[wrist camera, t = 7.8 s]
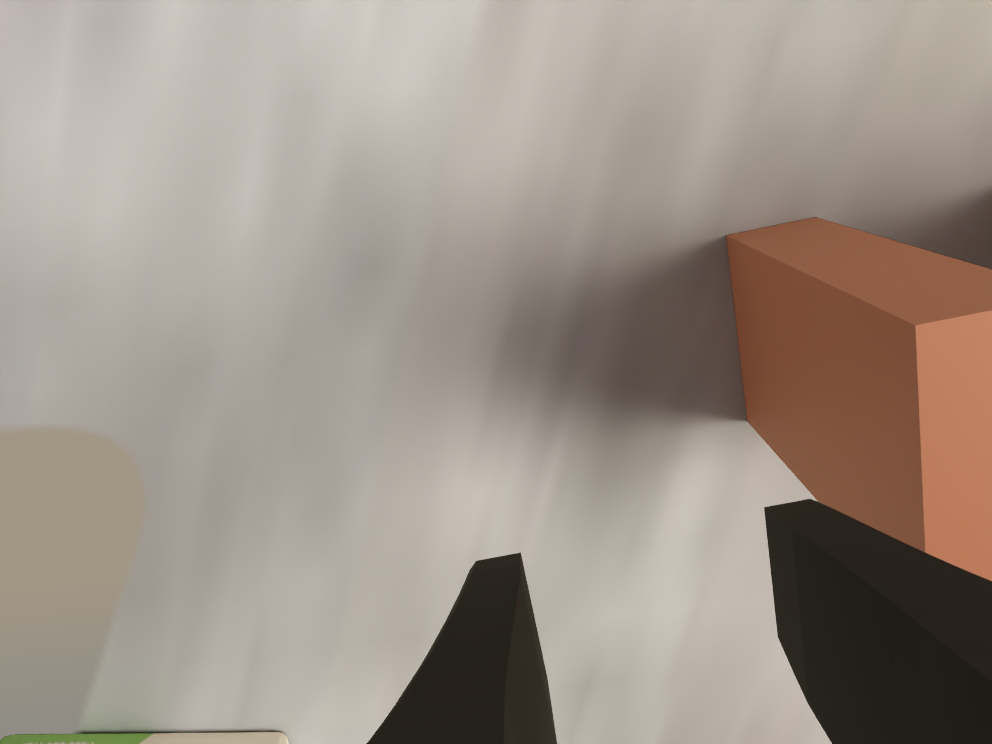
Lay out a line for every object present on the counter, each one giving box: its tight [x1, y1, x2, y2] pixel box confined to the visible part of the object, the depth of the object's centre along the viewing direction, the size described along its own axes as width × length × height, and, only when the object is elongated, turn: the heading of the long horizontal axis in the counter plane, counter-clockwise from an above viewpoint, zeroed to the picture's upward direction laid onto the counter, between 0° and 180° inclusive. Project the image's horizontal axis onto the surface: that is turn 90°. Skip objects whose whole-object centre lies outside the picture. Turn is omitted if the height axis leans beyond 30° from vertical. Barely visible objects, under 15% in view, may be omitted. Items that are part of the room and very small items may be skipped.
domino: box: [726, 217, 992, 581], centre depth 16 cm, size 2×5×9 cm, turn 11°
